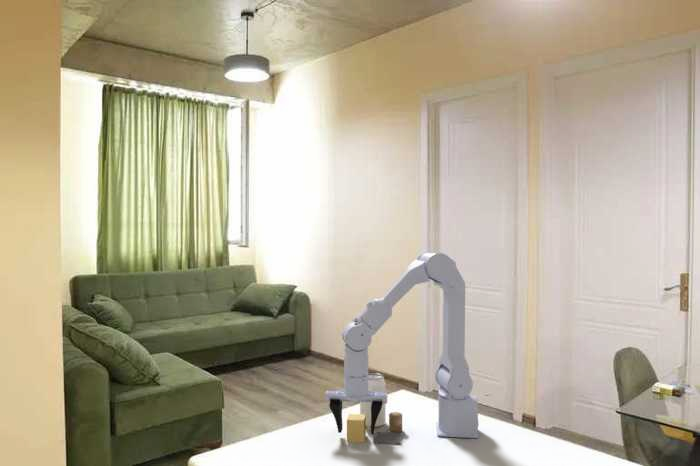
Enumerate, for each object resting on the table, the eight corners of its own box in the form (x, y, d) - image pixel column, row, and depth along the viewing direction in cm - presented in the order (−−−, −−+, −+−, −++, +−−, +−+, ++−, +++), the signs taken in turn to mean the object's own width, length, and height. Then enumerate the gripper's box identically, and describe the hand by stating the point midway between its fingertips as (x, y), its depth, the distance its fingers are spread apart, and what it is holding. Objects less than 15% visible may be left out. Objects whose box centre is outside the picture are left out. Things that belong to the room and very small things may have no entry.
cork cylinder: (402, 428, 131) (402, 412, 131) (401, 433, 128) (402, 417, 128) (389, 427, 132) (389, 411, 132) (388, 432, 129) (388, 416, 129)
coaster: (401, 434, 128) (401, 432, 128) (400, 444, 122) (400, 442, 122) (376, 433, 128) (376, 431, 128) (374, 443, 122) (374, 441, 122)
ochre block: (365, 435, 127) (365, 414, 127) (363, 442, 123) (363, 420, 123) (349, 434, 128) (349, 413, 128) (346, 441, 124) (346, 419, 124)
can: (386, 428, 132) (386, 379, 132) (359, 427, 132) (359, 379, 132) (384, 418, 138) (384, 372, 138) (359, 418, 138) (359, 372, 138)
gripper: (322, 378, 122) (323, 437, 122) (386, 380, 120) (386, 440, 121) (328, 370, 129) (328, 425, 129) (387, 372, 127) (387, 428, 127)
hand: (356, 432), depth 125 cm, fingers open, 7 cm apart
